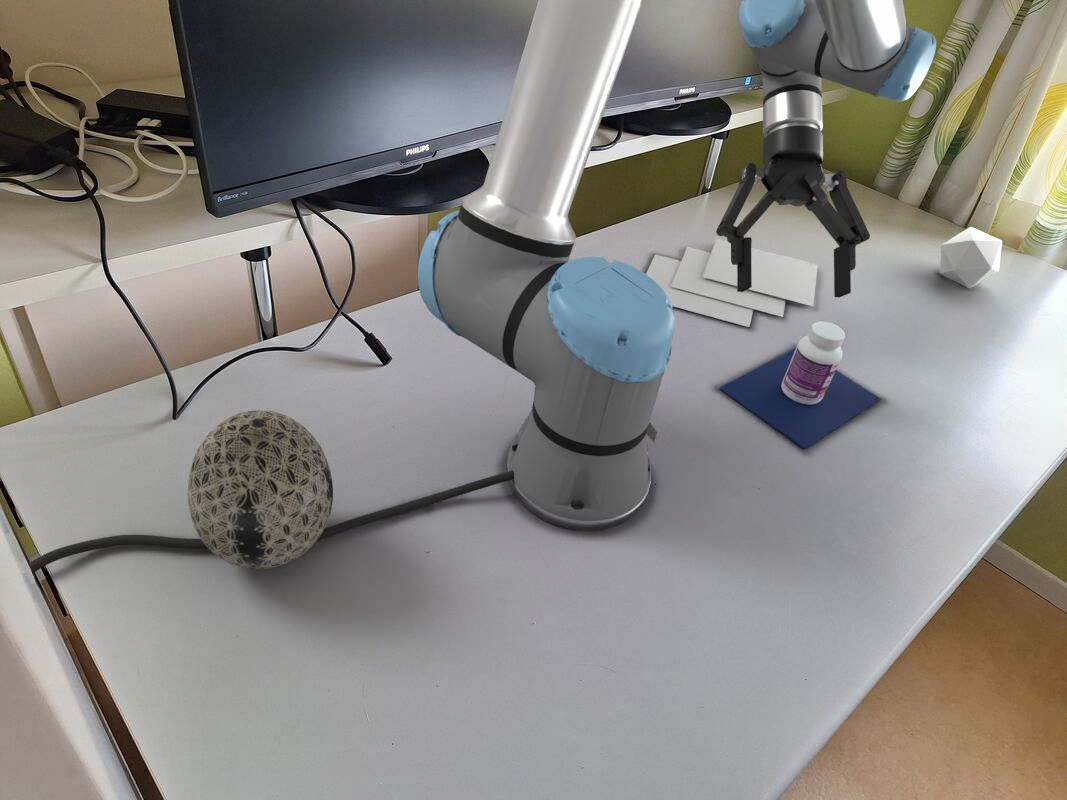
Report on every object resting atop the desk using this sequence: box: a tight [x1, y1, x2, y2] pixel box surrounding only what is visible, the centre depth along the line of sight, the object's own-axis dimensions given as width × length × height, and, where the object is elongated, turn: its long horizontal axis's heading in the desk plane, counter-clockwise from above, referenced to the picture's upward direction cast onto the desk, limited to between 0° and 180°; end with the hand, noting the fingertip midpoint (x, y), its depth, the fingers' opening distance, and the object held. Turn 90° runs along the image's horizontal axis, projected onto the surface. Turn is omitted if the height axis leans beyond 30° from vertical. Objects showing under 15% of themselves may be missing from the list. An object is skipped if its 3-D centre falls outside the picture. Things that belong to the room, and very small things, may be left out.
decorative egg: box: [187, 409, 334, 570], centre depth 65 cm, size 12×12×15 cm
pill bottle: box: [781, 320, 846, 405], centre depth 94 cm, size 5×5×10 cm
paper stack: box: [645, 238, 819, 328], centre depth 117 cm, size 23×25×1 cm
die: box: [939, 226, 1003, 289], centre depth 124 cm, size 8×9×10 cm
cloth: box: [718, 347, 882, 450], centre depth 97 cm, size 17×13×1 cm
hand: (793, 292), depth 99 cm, fingers open, 13 cm apart
